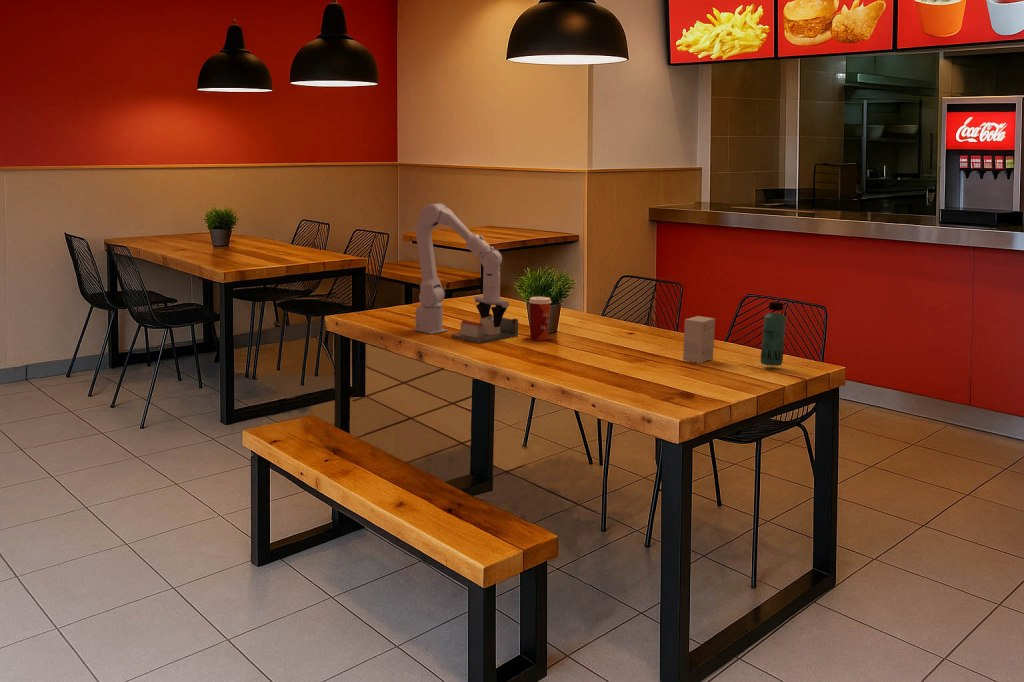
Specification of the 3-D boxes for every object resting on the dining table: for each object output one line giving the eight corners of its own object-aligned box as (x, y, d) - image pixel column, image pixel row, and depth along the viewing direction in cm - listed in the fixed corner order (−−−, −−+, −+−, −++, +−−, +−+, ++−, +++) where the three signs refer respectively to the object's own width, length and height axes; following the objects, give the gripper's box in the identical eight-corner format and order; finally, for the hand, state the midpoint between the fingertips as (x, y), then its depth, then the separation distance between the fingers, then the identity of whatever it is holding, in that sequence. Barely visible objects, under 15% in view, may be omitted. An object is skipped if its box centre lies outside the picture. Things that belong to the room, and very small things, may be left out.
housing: (479, 332, 315) (479, 316, 314) (489, 330, 319) (489, 315, 318) (489, 335, 312) (489, 318, 311) (500, 333, 315) (500, 316, 314)
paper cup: (548, 342, 307) (549, 300, 304) (525, 340, 309) (526, 299, 306) (552, 337, 315) (553, 296, 312) (530, 336, 316) (530, 295, 313)
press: (451, 337, 312) (451, 319, 311) (489, 330, 325) (489, 313, 324) (480, 343, 303) (480, 325, 302) (517, 336, 316) (518, 319, 314)
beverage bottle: (764, 364, 280) (768, 299, 276) (785, 367, 276) (790, 301, 272) (756, 368, 274) (761, 302, 270) (778, 372, 271) (783, 304, 267)
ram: (459, 334, 311) (459, 320, 310) (466, 333, 313) (466, 319, 312) (478, 338, 305) (478, 324, 304) (484, 337, 307) (484, 323, 306)
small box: (695, 356, 289) (697, 315, 287) (713, 359, 285) (715, 318, 283) (682, 360, 283) (684, 319, 281) (700, 364, 279) (703, 321, 277)
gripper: (468, 285, 315) (468, 324, 317) (498, 289, 305) (498, 330, 308) (483, 283, 320) (482, 321, 322) (513, 287, 310) (512, 327, 313)
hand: (491, 325), depth 315 cm, fingers closed on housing, 5 cm apart
